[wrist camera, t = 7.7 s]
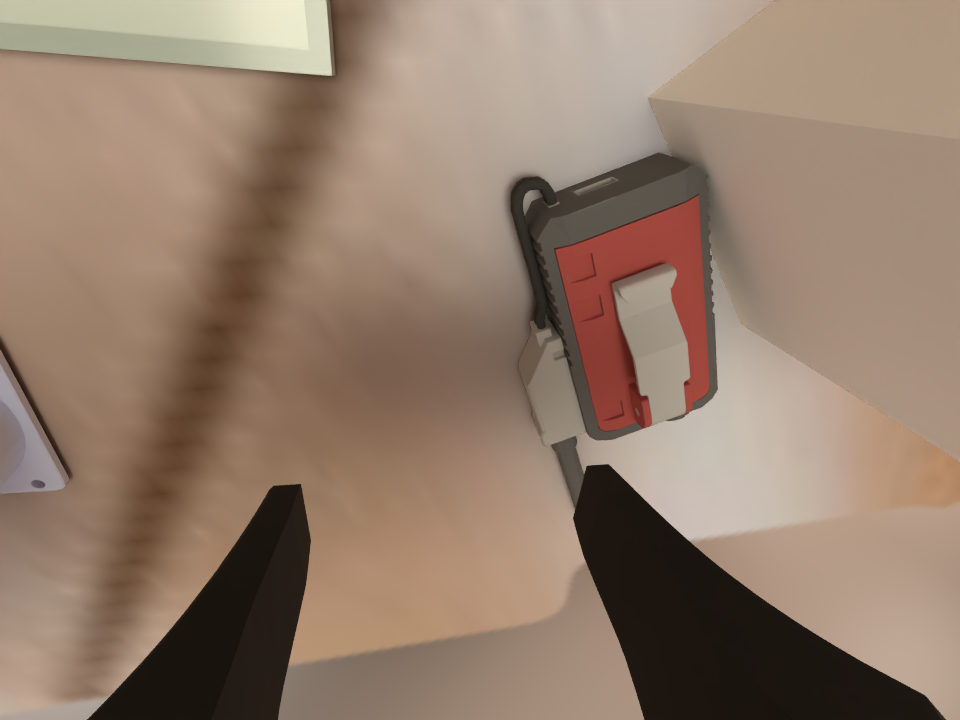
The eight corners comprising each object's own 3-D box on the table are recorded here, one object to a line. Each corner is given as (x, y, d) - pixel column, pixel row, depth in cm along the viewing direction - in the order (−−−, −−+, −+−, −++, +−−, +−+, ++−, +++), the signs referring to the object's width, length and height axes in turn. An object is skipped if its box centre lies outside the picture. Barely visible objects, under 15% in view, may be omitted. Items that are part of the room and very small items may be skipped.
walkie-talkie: (453, 196, 18) (564, 508, 29) (470, 229, 14) (589, 573, 25) (670, 111, 18) (699, 460, 29) (745, 123, 14) (745, 518, 25)
